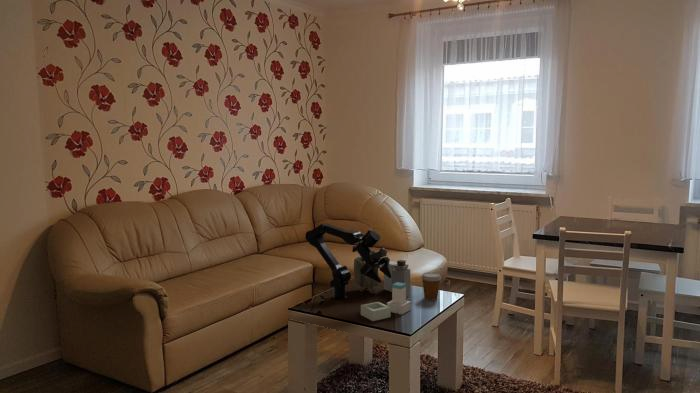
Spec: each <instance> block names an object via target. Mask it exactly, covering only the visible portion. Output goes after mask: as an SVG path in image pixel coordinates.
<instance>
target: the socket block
mask: <svg viewBox="0 0 700 393" xmlns="http://www.w3.org/2000/svg"><path fill="white" fill-rule="evenodd" d="M391 313H392V312H391V307H389V306H387V304H384V303H382V302H380V301H375V302H370V303H365V304H361V305H360V316H362V317H364V318H365V319H368V320H370V321H371V322H374V321H375V322H376V321H379V320H384V319H388V318H391V316H392V315H391Z"/></svg>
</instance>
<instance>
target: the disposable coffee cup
mask: <svg viewBox="0 0 700 393" xmlns="http://www.w3.org/2000/svg"><path fill="white" fill-rule="evenodd" d="M421 280H422V288H423V296H424V299H425V300H428V301H436V300H438V296H439V290H440V283H441V280H442V277H441V274H440V273H437V272H424V273H422V275H421Z"/></svg>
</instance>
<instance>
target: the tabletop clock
mask: <svg viewBox="0 0 700 393" xmlns="http://www.w3.org/2000/svg"><path fill="white" fill-rule="evenodd" d="M361 259H362V257H361V256H357V257H355V258H354V260H353V280H354V282H355V283H356V285H358V286H360V287H361V288H360V289H359V290H360V292H361V293H363V292H364V288H366V289H370V290H371V294H373V295H375V293H376V291H375V290H374V289H373V287H378V284H379V282H377V281H376V280H374V279H372V278H370V277H368V276H365V274H364V275H362V274H361V273H360V269H361V268H362V267H363V266H364V265H365V264H366V263H365V261H362V260H361ZM375 271H376V273H377V274H378V275H379V268H378V267H375Z"/></svg>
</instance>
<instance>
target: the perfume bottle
mask: <svg viewBox="0 0 700 393" xmlns="http://www.w3.org/2000/svg"><path fill="white" fill-rule="evenodd" d="M396 262H397V264H396V265H394V267H395V269H393V270H392V284H394V283H397V282H399V283H405V284H406V298H408V297H409V296H411V268H409V264H406V263H407V262H406V260H404V259H398V260H397V261H396Z"/></svg>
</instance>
